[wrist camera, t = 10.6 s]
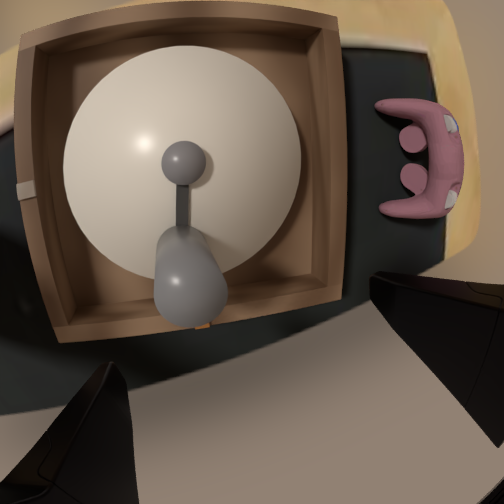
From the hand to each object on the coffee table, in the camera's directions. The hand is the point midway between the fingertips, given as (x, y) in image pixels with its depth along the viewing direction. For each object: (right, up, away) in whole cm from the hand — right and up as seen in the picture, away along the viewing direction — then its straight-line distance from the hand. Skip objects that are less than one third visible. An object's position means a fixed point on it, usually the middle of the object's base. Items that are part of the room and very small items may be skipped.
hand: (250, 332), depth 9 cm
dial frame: (-4, +8, +9) cm, 13 cm away
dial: (-4, +8, +8) cm, 12 cm away
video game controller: (+12, +11, +13) cm, 21 cm away
